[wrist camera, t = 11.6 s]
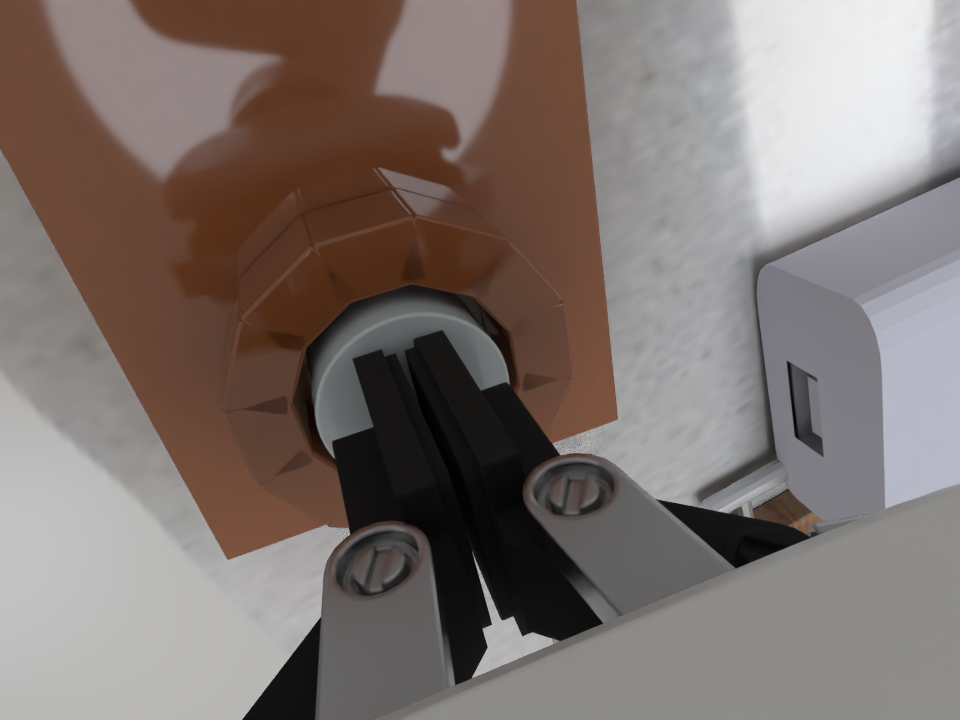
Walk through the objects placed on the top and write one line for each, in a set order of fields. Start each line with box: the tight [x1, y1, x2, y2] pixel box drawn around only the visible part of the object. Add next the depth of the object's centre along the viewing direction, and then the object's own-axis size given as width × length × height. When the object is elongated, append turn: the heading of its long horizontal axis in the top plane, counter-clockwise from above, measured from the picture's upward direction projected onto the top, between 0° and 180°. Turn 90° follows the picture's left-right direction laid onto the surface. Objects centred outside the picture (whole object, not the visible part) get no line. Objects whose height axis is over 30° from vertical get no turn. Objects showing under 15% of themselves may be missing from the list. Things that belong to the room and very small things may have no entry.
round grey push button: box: [306, 285, 510, 459], centre depth 13 cm, size 4×4×2 cm
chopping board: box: [703, 459, 823, 533], centre depth 35 cm, size 45×27×3 cm, turn 22°
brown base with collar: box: [0, 0, 618, 559], centre depth 13 cm, size 12×10×5 cm
